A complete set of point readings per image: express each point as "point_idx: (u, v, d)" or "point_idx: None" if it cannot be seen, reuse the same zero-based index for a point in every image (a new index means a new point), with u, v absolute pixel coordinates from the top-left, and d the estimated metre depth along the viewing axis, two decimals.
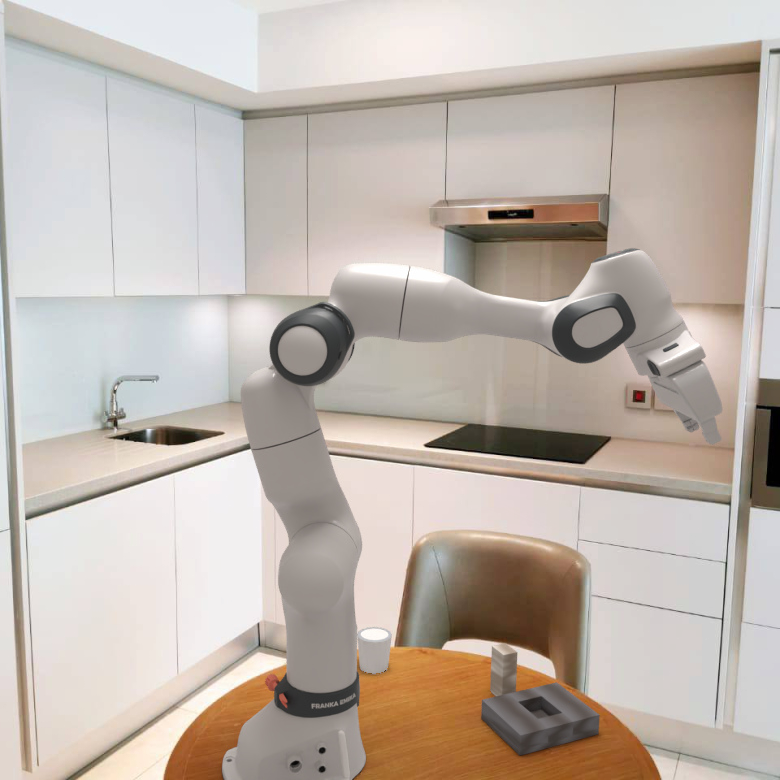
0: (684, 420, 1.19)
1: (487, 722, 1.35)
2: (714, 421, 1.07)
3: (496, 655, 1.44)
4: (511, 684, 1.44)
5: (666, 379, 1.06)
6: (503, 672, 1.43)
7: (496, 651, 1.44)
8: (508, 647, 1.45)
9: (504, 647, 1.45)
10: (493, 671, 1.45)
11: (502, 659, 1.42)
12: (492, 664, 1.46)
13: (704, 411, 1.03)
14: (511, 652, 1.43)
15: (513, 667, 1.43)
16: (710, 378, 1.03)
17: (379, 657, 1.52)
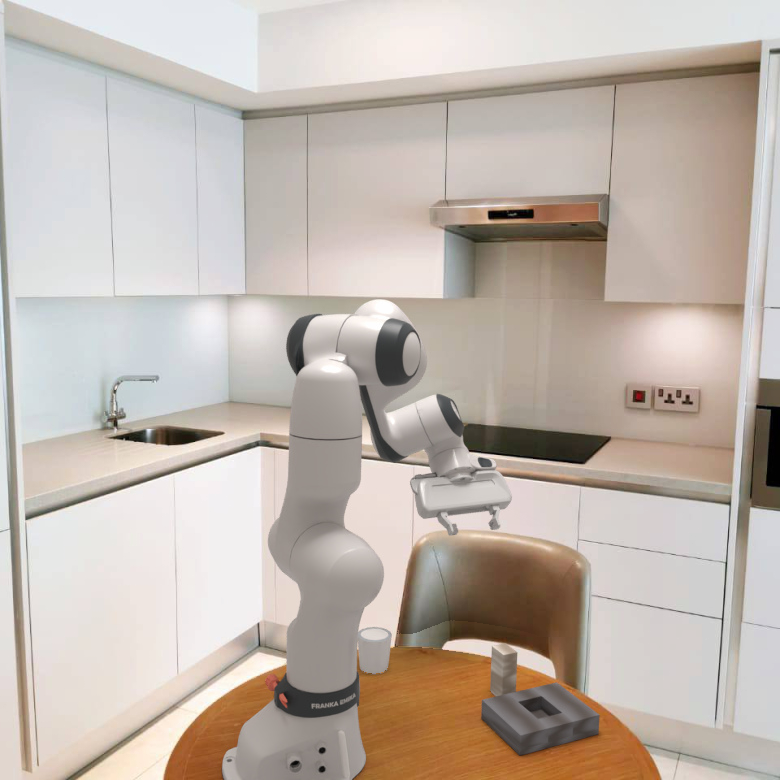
0: None
1: (487, 722, 1.35)
2: None
3: (496, 655, 1.44)
4: (511, 684, 1.44)
5: (492, 471, 1.61)
6: (503, 672, 1.43)
7: (496, 651, 1.44)
8: (508, 647, 1.45)
9: (504, 647, 1.45)
10: (493, 671, 1.45)
11: (502, 659, 1.42)
12: (492, 664, 1.46)
13: None
14: (511, 652, 1.43)
15: (513, 667, 1.43)
16: None
17: (379, 657, 1.52)
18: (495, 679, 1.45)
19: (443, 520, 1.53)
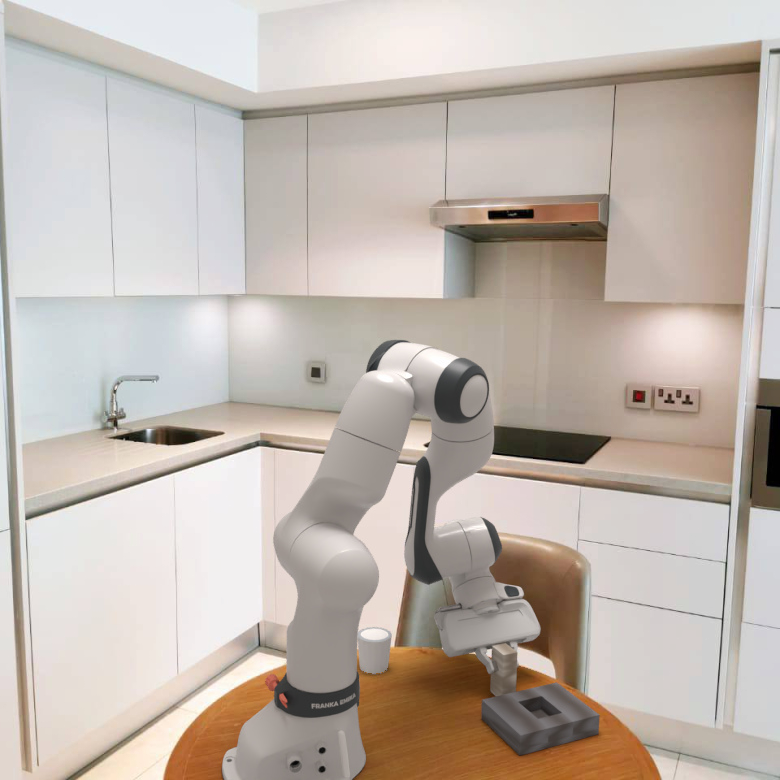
0: None
1: (487, 722, 1.35)
2: None
3: (496, 655, 1.44)
4: (511, 684, 1.44)
5: (519, 600, 1.52)
6: (503, 672, 1.43)
7: (496, 651, 1.44)
8: (508, 647, 1.45)
9: (504, 647, 1.45)
10: None
11: (502, 660, 1.42)
12: None
13: None
14: (511, 652, 1.43)
15: (513, 667, 1.43)
16: None
17: (379, 657, 1.52)
18: (495, 679, 1.45)
19: (482, 657, 1.45)
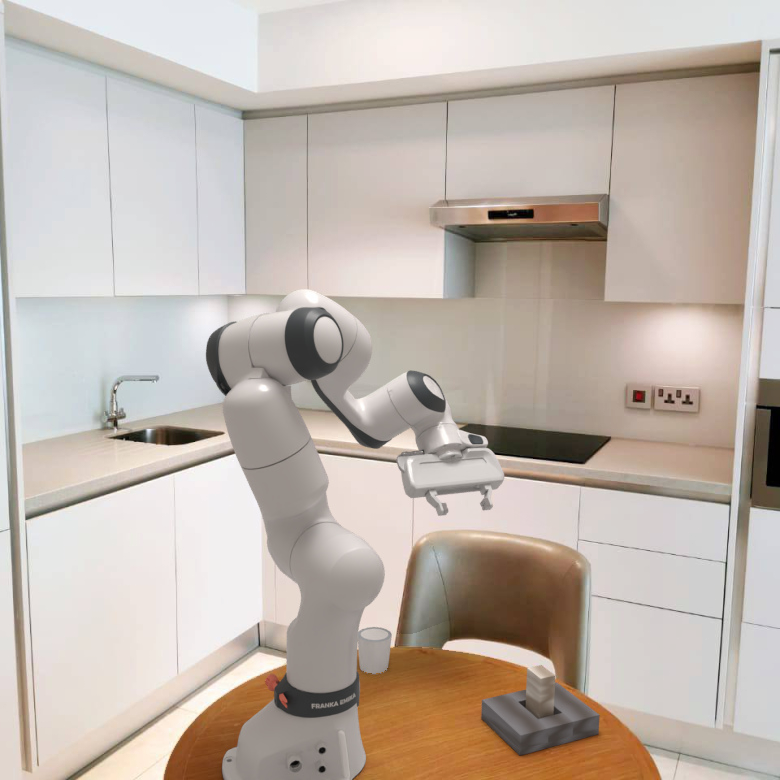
0: None
1: (487, 722, 1.35)
2: None
3: (532, 678, 1.34)
4: (548, 710, 1.33)
5: (483, 448, 1.51)
6: (540, 697, 1.32)
7: (532, 674, 1.34)
8: (545, 670, 1.35)
9: (540, 669, 1.35)
10: (529, 695, 1.35)
11: (539, 683, 1.32)
12: (527, 688, 1.35)
13: None
14: (548, 675, 1.33)
15: (551, 691, 1.33)
16: None
17: (379, 657, 1.52)
18: (531, 704, 1.34)
19: (432, 499, 1.42)
